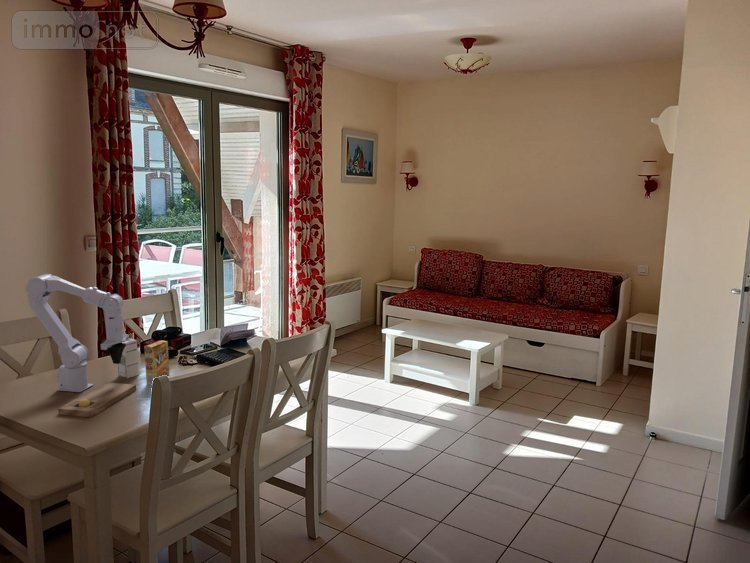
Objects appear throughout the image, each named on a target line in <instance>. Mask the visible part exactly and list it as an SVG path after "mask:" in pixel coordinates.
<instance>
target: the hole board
mask: <svg viewBox="0 0 750 563" xmlns="http://www.w3.org/2000/svg"><path fill="white" fill-rule="evenodd" d="M135 391H137V384H130V383H120V382H107V381H106V382H105V383H102V384H101V385H100V386H97V387H96V388H93V389H91V390H90V391H88V392H86V393H84V394H82V395H80V396H79V397H77V398H75V399H73V400H71V401H70V402H67V403H66V404H64V405H62V406H60V407H59V408H57V411H58V412H57V413H58V414H57V415H60V416H61V415H63V416H64V415H65V416H73V417H84V418H93V417H94V416H96V415H98V414H99V413H101V412H102V411H104V410H106V409H107V408H109V407H111V406H112V405H114V404H115V403H117V402H119V401H120V400H122V399H124V398H125V397H127V396H129V395H130V394H132V393H134V392H135ZM82 399H87V400H89V401H90V406H88V407H87V408H82V407H79V402H80V401H81V400H82Z"/></svg>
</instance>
